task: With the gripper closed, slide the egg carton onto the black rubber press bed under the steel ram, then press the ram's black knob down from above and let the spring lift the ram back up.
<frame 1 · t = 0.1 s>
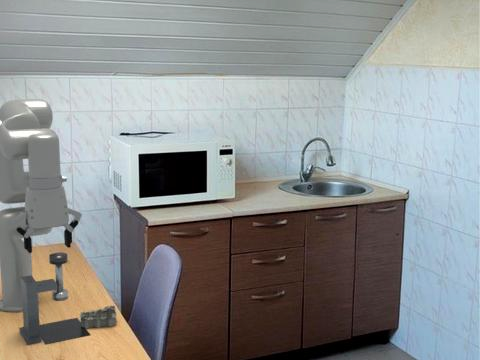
hand: (48, 248, 171), 31 cm above the table, tool pointing down, fingers open, 9 cm apart
press frame: (61, 330, 197), on the table
ram: (59, 276, 194), point 16 cm above the table, slide at 0.0 cm
egg carton: (98, 323, 203), on the table, touching press frame
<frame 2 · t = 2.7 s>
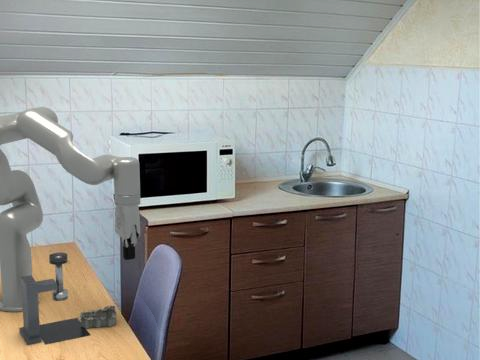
hand: (129, 258, 204), 19 cm above the table, tool pointing down, fingers closed
nothing on the table moved.
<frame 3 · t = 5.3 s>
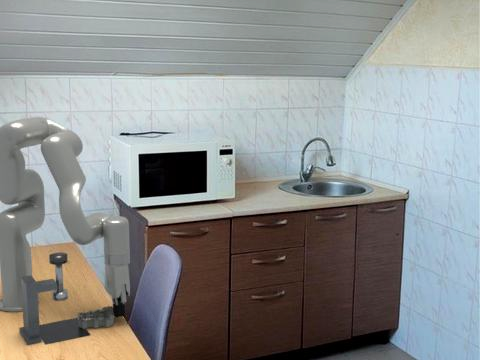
hand: (119, 315, 205), 1 cm above the table, tool pointing down, fingers closed
egg carton: (96, 324, 202), on the table, touching gripper
everything else where it was.
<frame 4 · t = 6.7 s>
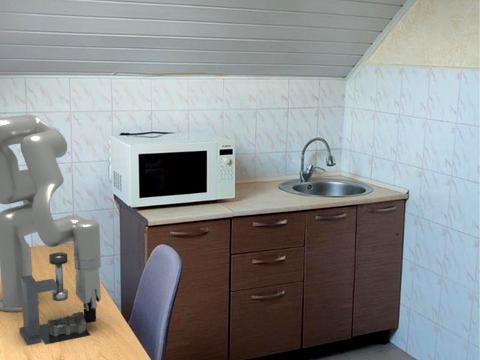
hand: (90, 321, 201), 1 cm above the table, tool pointing down, fingers closed
egg carton: (67, 331, 197), resting on press frame, touching gripper
everything else where it was.
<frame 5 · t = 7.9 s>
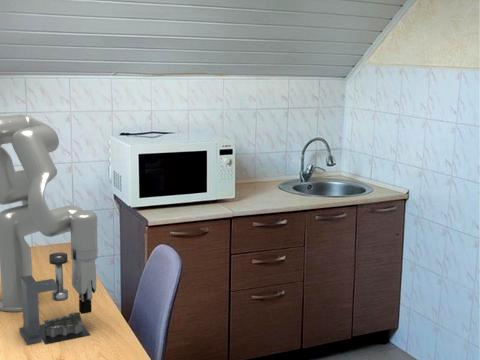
hand: (85, 312, 201), 4 cm above the table, tool pointing down, fingers closed
egg carton: (64, 331, 197), resting on press frame
everything else where it was.
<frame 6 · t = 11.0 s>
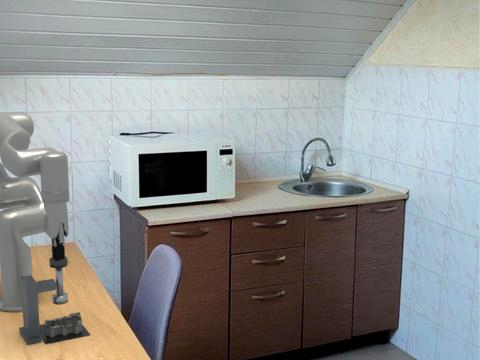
hand: (58, 258, 193), 22 cm above the table, tool pointing down, fingers closed
ram: (59, 280, 194), point 15 cm above the table, slide at 1.1 cm, touching gripper
everything else where it was.
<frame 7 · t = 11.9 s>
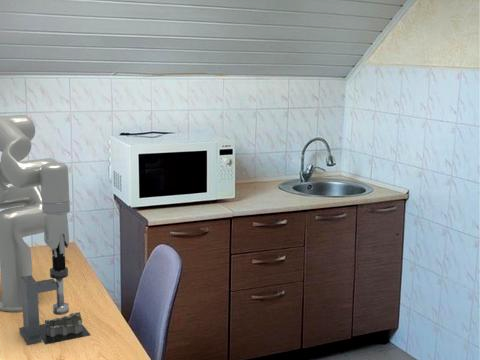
hand: (59, 269, 193), 19 cm above the table, tool pointing down, fingers closed
ram: (59, 290, 195), point 12 cm above the table, slide at 4.2 cm, touching gripper
everything else where it was.
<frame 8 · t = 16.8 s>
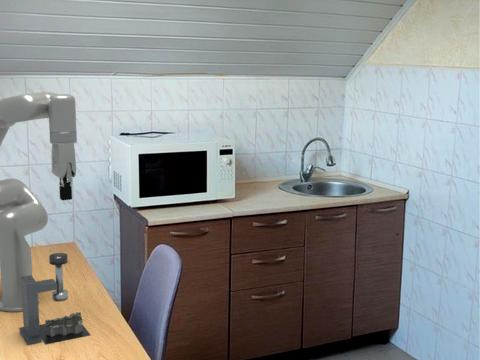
hand: (66, 199, 199), 37 cm above the table, tool pointing down, fingers closed
ram: (59, 277, 194), point 16 cm above the table, slide at 0.2 cm
everything else where it was.
at the end: egg carton 0.9 cm from the ram (horizontally); ram slide at 0.2 cm; egg carton tilted 2° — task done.
